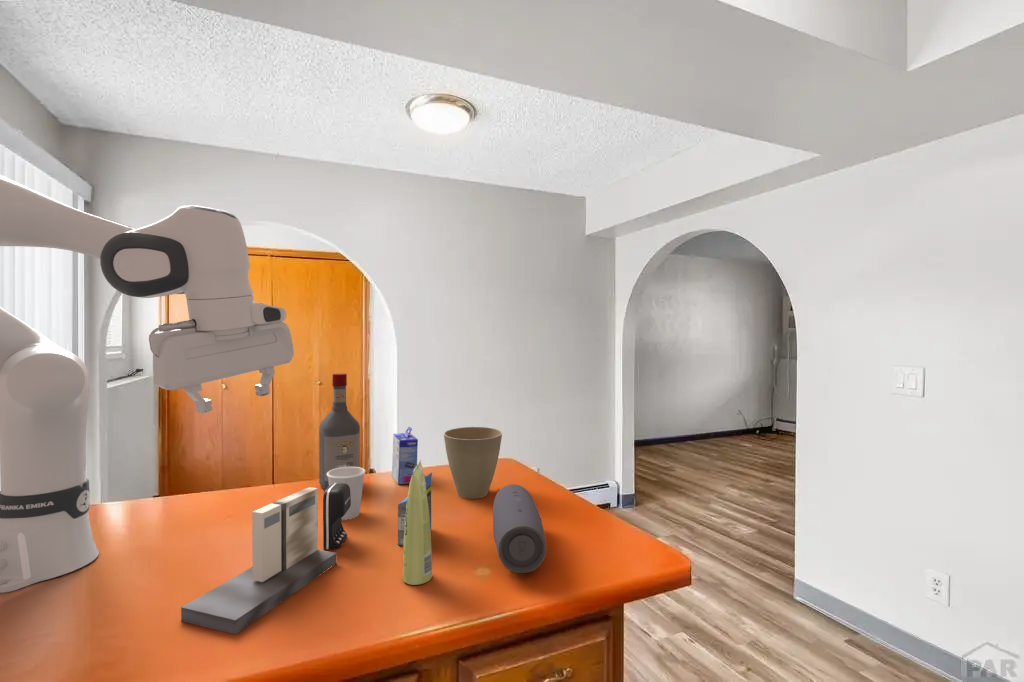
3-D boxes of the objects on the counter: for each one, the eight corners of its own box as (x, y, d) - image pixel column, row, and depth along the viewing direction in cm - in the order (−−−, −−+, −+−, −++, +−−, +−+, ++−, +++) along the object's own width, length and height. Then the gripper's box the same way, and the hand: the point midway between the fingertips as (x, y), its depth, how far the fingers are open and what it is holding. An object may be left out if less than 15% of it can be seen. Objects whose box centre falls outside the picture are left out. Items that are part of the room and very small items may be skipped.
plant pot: (444, 485, 136) (444, 427, 135) (499, 484, 137) (499, 426, 137) (442, 505, 121) (442, 439, 121) (504, 503, 123) (504, 438, 122)
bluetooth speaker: (549, 580, 86) (550, 522, 86) (495, 581, 85) (495, 523, 85) (534, 527, 109) (535, 481, 108) (491, 528, 108) (491, 481, 108)
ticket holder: (235, 634, 70) (234, 539, 70) (181, 620, 73) (180, 529, 73) (336, 563, 91) (336, 490, 90) (291, 555, 94) (290, 484, 94)
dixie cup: (370, 517, 113) (370, 473, 113) (332, 525, 108) (332, 479, 108) (358, 506, 120) (358, 464, 120) (322, 513, 115) (322, 469, 115)
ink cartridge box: (418, 483, 138) (418, 430, 137) (398, 485, 136) (398, 432, 135) (410, 473, 147) (410, 424, 146) (391, 475, 145) (391, 425, 144)
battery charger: (342, 551, 96) (342, 491, 96) (322, 551, 96) (322, 491, 96) (352, 535, 103) (352, 480, 103) (333, 536, 103) (333, 480, 102)
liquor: (362, 487, 134) (362, 374, 133) (326, 493, 128) (326, 376, 128) (351, 478, 141) (351, 372, 140) (317, 484, 136) (317, 373, 135)
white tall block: (262, 582, 80) (262, 513, 79) (252, 580, 80) (251, 511, 80) (281, 570, 83) (281, 504, 83) (271, 568, 84) (271, 503, 84)
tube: (394, 576, 86) (395, 463, 86) (420, 567, 90) (420, 458, 89) (412, 589, 82) (413, 470, 82) (438, 579, 86) (439, 465, 85)
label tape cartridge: (414, 528, 107) (415, 470, 107) (432, 529, 107) (432, 471, 106) (397, 545, 99) (397, 483, 98) (415, 547, 98) (416, 484, 97)
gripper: (158, 327, 66) (174, 426, 69) (294, 308, 84) (303, 389, 86) (135, 324, 70) (151, 420, 72) (271, 307, 87) (280, 384, 89)
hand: (235, 403), depth 79 cm, fingers open, 8 cm apart
